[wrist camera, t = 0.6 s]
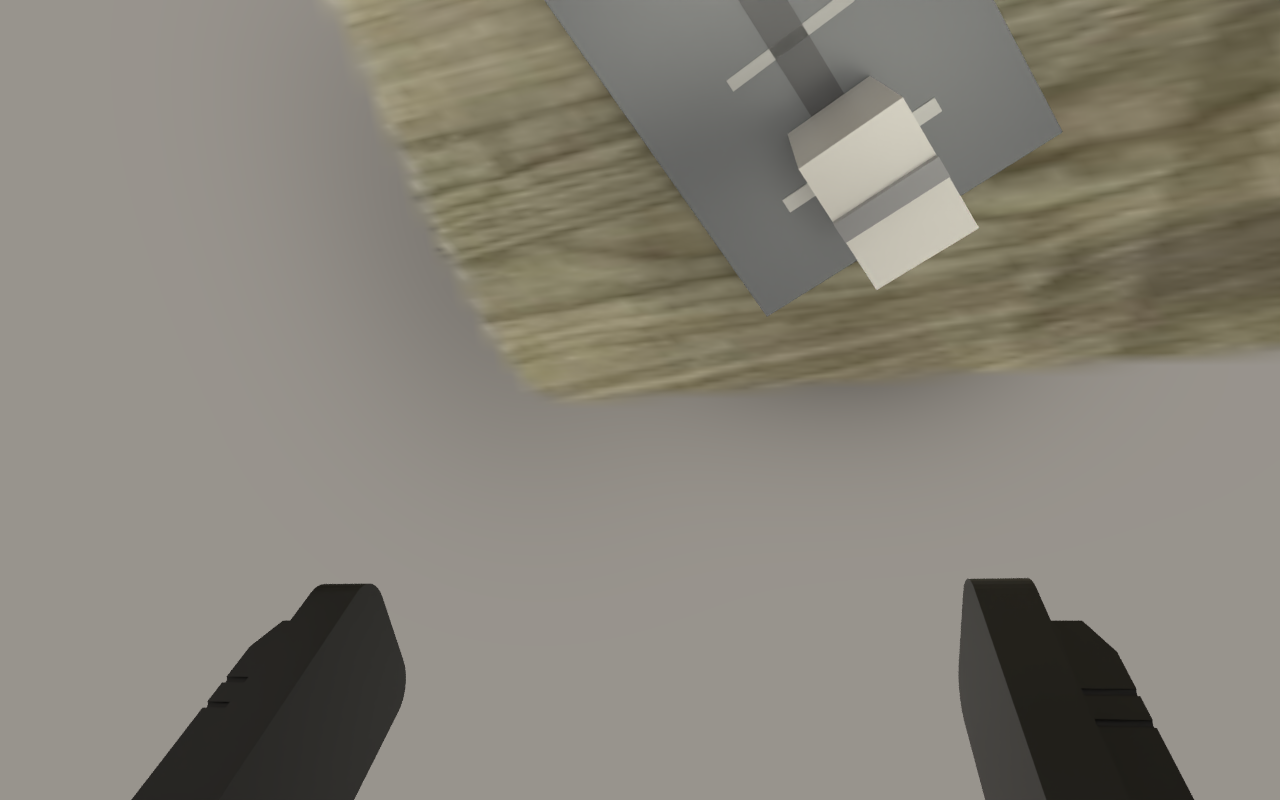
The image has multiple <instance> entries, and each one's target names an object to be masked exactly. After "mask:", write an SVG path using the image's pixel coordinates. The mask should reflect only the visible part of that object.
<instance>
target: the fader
mask: <svg viewBox="0 0 1280 800" xmlns="http://www.w3.org/2000/svg"><path fill="white" fill-rule="evenodd" d="M788 137H789V141H790V144H791V147H792V150H793V153H794V156H795V160H796V163H797V166H798V169H799V171H800V172H801V174H802V175H803V177H804V178H805V180H806V182H807V183H808V185H809V186H810V188H811V189H812V191H813V192H814V194H815V195H816V197H817V199H818V200H819V202H820V203H821V205H822V206H823V208H824V209H825V211H826V213H827V214H828V216H829V217H830V219H831V220H832V222H833V224H834V226H835V228H836V229H837V231H838V232H839V234H840V235H841V237H842V238H843V240H844V242H845V243H846V244H847V245H848V247H849V248H850V250H851V251H852V253H853V254H854V256H855V257H856V259H857V261H858V262H859V264H860V265H861V267H862V268H863V270H864V271H865V273H866V275H867V276H868V278H869V279H870V281H871V282H872V284H873V285H874V287H875V288H876V290H877V289H879V288H881V287H882V286H884V285H886V284H887V283H889V282H891V281H892V280H894V279H896V278H897V277H899V276H901V275H902V274H904V273H906V272H907V271H909V270H911V269H912V268H914V267H916V266H917V265H919V264H920V263H922V262H924V261H925V260H927V259H929V258H930V257H932V256H934V255H935V254H937V253H939V252H940V251H942V250H944V249H945V248H947V247H949V246H950V245H952V244H954V243H955V242H957V241H959V240H960V239H962V238H964V237H965V236H967V235H968V234H970V233H972V232H973V231H975V230H977V229H978V228H979V227H978V225H977V224H976V222H975V220H974V219H973V217H972V215H971V213H970V212H969V210H968V208H967V206H966V205H965V203H964V201H963V200H962V198H961V196H960V194H959V193H958V191H957V189H956V188H955V186H954V184H953V182H952V181H951V179H950V175H949V173H948V172H947V170H946V168H945V166H944V165H943V163H942V161H941V160H940V158H939V156H937V155H936V153H935V151H934V150H933V148H932V146H931V145H930V143H929V141H928V139H927V138H926V136H925V134H924V133H923V131H922V129H921V127H920V126H919V124H918V122H917V121H916V119H915V117H914V115H913V114H912V112H911V110H910V108H909V107H908V105H907V103H906V102H905V100H904V98H903V97H902V96H900V95H899V94H897V93H896V92H894V91H893V90H891V89H889V88H888V87H886V86H885V85H883V84H882V83H880V82H879V81H877V80H876V79H874V78H872V77H871V76H869V77H867V78H866V79H865V80H863V81H862V82H860V83H859V84H857V85H856V86H855V87H853V88H852V89H850V90H849V91H848V92H846V93H845V94H843V95H842V96H840V97H839V98H838V99H836V100H835V101H833V102H832V103H831V104H829V105H828V106H826V107H825V108H824V109H822V110H821V111H819V112H818V113H816V114H815V115H814V116H812V117H811V118H809V119H808V120H807V121H805V122H804V123H802V124H801V125H799V126H798V127H797V128H795V129H794V130H792V131H791V132H790V133H788Z"/></svg>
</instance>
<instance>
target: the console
mask: <svg viewBox="0 0 1280 800" xmlns="http://www.w3.org/2000/svg"><path fill="white" fill-rule="evenodd" d="M545 2H546V3H547V5H548V6H549V8H550V9H551V10H552V12H553V13H554V15H555V16H556V18H557V19H558V20H559V22H560V23H561V25H562V26H563V27H564V29H565V30H566V32H567V33H568V35H569V36H570V37H571V39H572V40H573V42H574V43H575V45H576V46H577V47H578V49H579V50H580V52H581V53H582V54H583V56H584V57H585V59H586V60H587V62H588V63H589V64H590V66H591V67H592V69H593V70H594V72H595V73H596V74H597V76H598V77H599V79H600V80H601V81H602V83H603V84H604V86H605V87H606V89H607V90H608V91H609V93H610V94H611V96H612V97H613V99H614V100H615V101H616V103H617V104H618V106H619V107H620V108H621V110H622V111H623V113H624V114H625V116H626V117H627V118H628V120H629V121H630V123H631V124H632V126H633V127H634V128H635V130H636V131H637V133H638V134H639V135H640V137H641V138H642V140H643V141H644V143H645V144H646V145H647V147H648V148H649V150H650V151H651V153H652V154H653V155H654V157H655V158H656V160H657V161H658V163H659V164H660V165H661V167H662V168H663V170H664V171H665V172H666V174H667V175H668V177H669V178H670V180H671V181H672V182H673V184H674V185H675V187H676V188H677V190H678V191H679V192H680V194H681V195H682V197H683V198H684V199H685V201H686V202H687V204H688V205H689V207H690V208H691V209H692V211H693V212H694V214H695V215H696V217H697V218H698V219H699V221H700V222H701V224H702V225H703V226H704V228H705V229H706V231H707V232H708V234H709V235H710V236H711V238H712V239H713V241H714V242H715V244H716V245H717V246H718V248H719V249H720V251H721V252H722V253H723V255H724V256H725V258H726V259H727V261H728V262H729V263H730V265H731V266H732V268H733V269H734V271H735V272H736V273H737V275H738V276H739V278H740V279H741V280H742V282H743V283H744V285H745V286H746V288H747V289H748V290H749V292H750V293H751V295H752V296H753V298H754V299H755V300H756V302H757V303H758V305H759V306H760V308H761V309H762V310H763V312H764V313H765V315H766V316H769V315H770V314H772V313H774V312H775V311H777V310H778V309H780V308H782V307H783V306H785V305H786V304H788V303H790V302H791V301H793V300H794V299H796V298H798V297H799V296H801V295H802V294H804V293H806V292H807V291H809V290H810V289H812V288H814V287H815V286H817V285H818V284H820V283H822V282H823V281H825V280H826V279H828V278H830V277H831V276H833V275H835V274H836V273H838V272H839V271H841V270H843V269H844V268H846V267H847V266H849V265H851V264H852V263H854V262H855V261H857V259H856V257H855V256H854V254H853V253H852V251H851V250H850V248H849V247H848V245H847V244H846V243H845V242H844V240H843V238H842V237H841V235H840V234H839V232H838V231H837V229H836V228H835V226H834V224H833V222H832V220H831V219H830V217H829V216H828V214H827V213H826V211H825V209H824V208H823V206H822V205H821V203H820V202H819V200H818V199H817V197H816V195H815V194H814V192H813V191H812V189H811V188H810V186H809V185H808V183H807V182H806V180H805V178H804V177H803V175H802V174H801V172H800V171H799V169H798V166H797V163H796V160H795V156H794V153H793V150H792V147H791V144H790V141H789V137H788V133H790V132H791V131H792V130H794V129H795V128H797V127H798V126H799V125H801V124H802V123H804V122H805V121H807V120H808V119H809V118H811V117H812V116H814V115H815V114H816V113H818V112H819V111H821V110H822V109H824V108H825V107H826V106H828V105H829V104H831V103H832V102H833V101H835V100H836V99H838V98H839V97H840V96H842V95H843V94H845V93H846V92H848V91H849V90H850V89H852V88H853V87H855V86H856V85H857V84H859V83H860V82H862V81H863V80H865V79H866V78H867V77H869V76H871V77H872V78H874V79H876V80H877V81H879V82H880V83H882V84H883V85H885V86H886V87H888V88H889V89H891V90H893V91H894V92H896V93H897V94H899V95H900V96H902V97H903V98H904V100H905V102H906V103H907V105H908V107H909V108H910V110H911V112H912V114H913V115H914V117H915V119H916V121H917V122H918V124H919V126H920V127H921V129H922V131H923V133H924V134H925V136H926V138H927V139H928V141H929V143H930V145H931V146H932V148H933V150H934V151H935V153H936V155H937V156H939V158H940V160H941V161H942V163H943V165H944V166H945V168H946V170H947V172H948V173H949V175H950V179H951V181H952V182H953V184H954V186H955V188H956V189H957V191H958V193H959V194H960V196H961V195H963V194H964V193H966V192H968V191H969V190H971V189H972V188H974V187H976V186H977V185H979V184H980V183H982V182H984V181H985V180H987V179H988V178H990V177H992V176H993V175H995V174H996V173H998V172H1000V171H1001V170H1003V169H1004V168H1006V167H1008V166H1009V165H1011V164H1012V163H1014V162H1016V161H1017V160H1019V159H1020V158H1022V157H1024V156H1025V155H1027V154H1028V153H1030V152H1032V151H1033V150H1035V149H1036V148H1038V147H1040V146H1041V145H1043V144H1045V143H1046V142H1048V141H1049V140H1051V139H1053V138H1054V137H1056V136H1057V135H1059V134H1061V133H1062V130H1061V128H1060V126H1059V124H1058V122H1057V120H1056V118H1055V116H1054V114H1053V113H1052V111H1051V109H1050V107H1049V105H1048V103H1047V101H1046V99H1045V97H1044V95H1043V93H1042V91H1041V90H1040V88H1039V86H1038V84H1037V82H1036V80H1035V78H1034V76H1033V74H1032V72H1031V70H1030V68H1029V67H1028V65H1027V63H1026V61H1025V59H1024V57H1023V55H1022V53H1021V51H1020V49H1019V47H1018V46H1017V44H1016V42H1015V40H1014V38H1013V36H1012V34H1011V32H1010V30H1009V28H1008V26H1007V24H1006V23H1005V21H1004V19H1003V17H1002V15H1001V13H1000V11H999V9H998V7H997V5H996V3H995V1H994V0H545Z"/></svg>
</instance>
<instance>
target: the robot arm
mask: <svg viewBox="0 0 1280 800" xmlns="http://www.w3.org/2000/svg"><path fill="white" fill-rule="evenodd" d="M405 684H406V672H405V665H404V661H403V658H402V655H401V652H400V649H399V646H398V643H397V640H396V637H395V634H394V631H393V628H392V625H391V622H390V619H389V616H388V613H387V610H386V607H385V604H384V601H383V598H382V595H381V593H380V591H379V590H378V588H377V587H376V586H375V585H373V584H323V585H320V586H317V587H316V588H315V589H314V590H313V591H312V592H311V593H310V595H309V596H308V597H307V599H306V600H305V602H304V603H303V604H302V606H301V607H300V608H299V610H298V611H297V612H296V614H295V615H294V616H293V618H292V619H291V620H290V621H282V622H281V623H280V624H278V625H277V626H276V627H274V628H273V629H272V630H271V631H269V632H268V633H267V634H265V635H264V636H263V637H262V638H260V639H259V640H258V641H256V642H255V643H254V644H253V645H251V646H250V647H249V649H248V650H247V651H246V652H245V654H244V655H243V656H242V658H241V659H240V660H239V661H238V663H237V664H236V665H235V667H234V668H233V669H232V670H231V672H230V673H229V674H228V676H227V681H226V683H221V685H220V686H219V687H218V689H217V690H216V691H215V692H214V694H213V695H212V696H211V698H210V699H209V700H208V706H207V708H202V709H201V711H200V712H199V713H198V714H197V716H196V717H195V718H194V720H193V721H192V722H191V723H190V725H189V726H188V727H187V729H186V730H185V731H184V733H183V734H182V735H181V736H180V738H179V739H178V741H177V742H176V743H175V744H174V745H173V747H172V748H171V749H170V751H169V752H168V753H167V755H166V756H165V757H164V758H163V760H162V761H161V762H160V764H159V765H158V766H157V768H156V769H155V770H154V771H153V773H152V774H151V775H150V777H149V778H148V779H147V780H146V782H145V783H144V784H143V786H142V787H141V788H140V789H139V791H138V792H137V793H136V795H135V796H134V797H133V799H132V800H354V799H355V797H356V795H357V793H358V791H359V789H360V787H361V785H362V782H363V781H364V779H365V777H366V775H367V773H368V771H369V769H370V767H371V765H372V763H373V761H374V759H375V757H376V755H377V753H378V751H379V749H380V747H381V745H382V743H383V741H384V739H385V737H386V735H387V733H388V731H389V729H390V727H391V725H392V723H393V721H394V719H395V717H396V715H397V713H398V711H399V709H400V707H401V704H402V701H403V697H404V692H405ZM959 690H960V700H961V706H962V712H963V717H964V721H965V725H966V729H967V733H968V736H969V740H970V744H971V748H972V752H973V755H974V759H975V763H976V767H977V770H978V774H979V778H980V782H981V785H982V789H983V793H984V796H985V800H1194V799H1193V797H1192V795H1191V793H1190V791H1189V789H1188V787H1187V785H1186V783H1185V781H1184V779H1183V778H1182V776H1181V774H1180V772H1179V770H1178V768H1177V766H1176V764H1175V762H1174V760H1173V758H1172V756H1171V754H1170V753H1169V751H1168V749H1167V747H1166V745H1165V743H1164V741H1163V739H1162V737H1161V735H1160V734H1159V731H1158V730H1157V728H1154V727H1153V723H1152V718H1151V716H1150V714H1149V712H1148V710H1147V708H1146V707H1145V705H1144V703H1143V701H1142V699H1141V697H1140V696H1137V693H1136V687H1135V685H1134V683H1133V682H1132V680H1131V678H1130V676H1129V674H1128V672H1127V670H1126V668H1125V666H1124V664H1123V662H1122V660H1121V659H1120V657H1119V655H1118V653H1117V652H1116V651H1115V650H1114V649H1113V648H1112V647H1111V646H1110V645H1109V644H1107V643H1106V642H1105V641H1104V640H1103V639H1102V638H1101V637H1100V636H1098V635H1097V634H1096V633H1095V632H1094V631H1093V630H1092V629H1091V628H1090V627H1089V626H1087V625H1086V624H1085V623H1084V622H1083V621H1051V620H1050V618H1049V616H1048V613H1047V611H1046V609H1045V607H1044V604H1043V602H1042V600H1041V597H1040V596H1039V593H1038V591H1037V588H1036V586H1035V585H1034V583H1033V582H1032V580H1030V579H1029V578H1013V579H1012V578H1011V579H1010V578H1009V579H1006V578H1005V579H967V580H966V581H965V584H964V591H963V605H962V622H961V638H960V654H959Z"/></svg>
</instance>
